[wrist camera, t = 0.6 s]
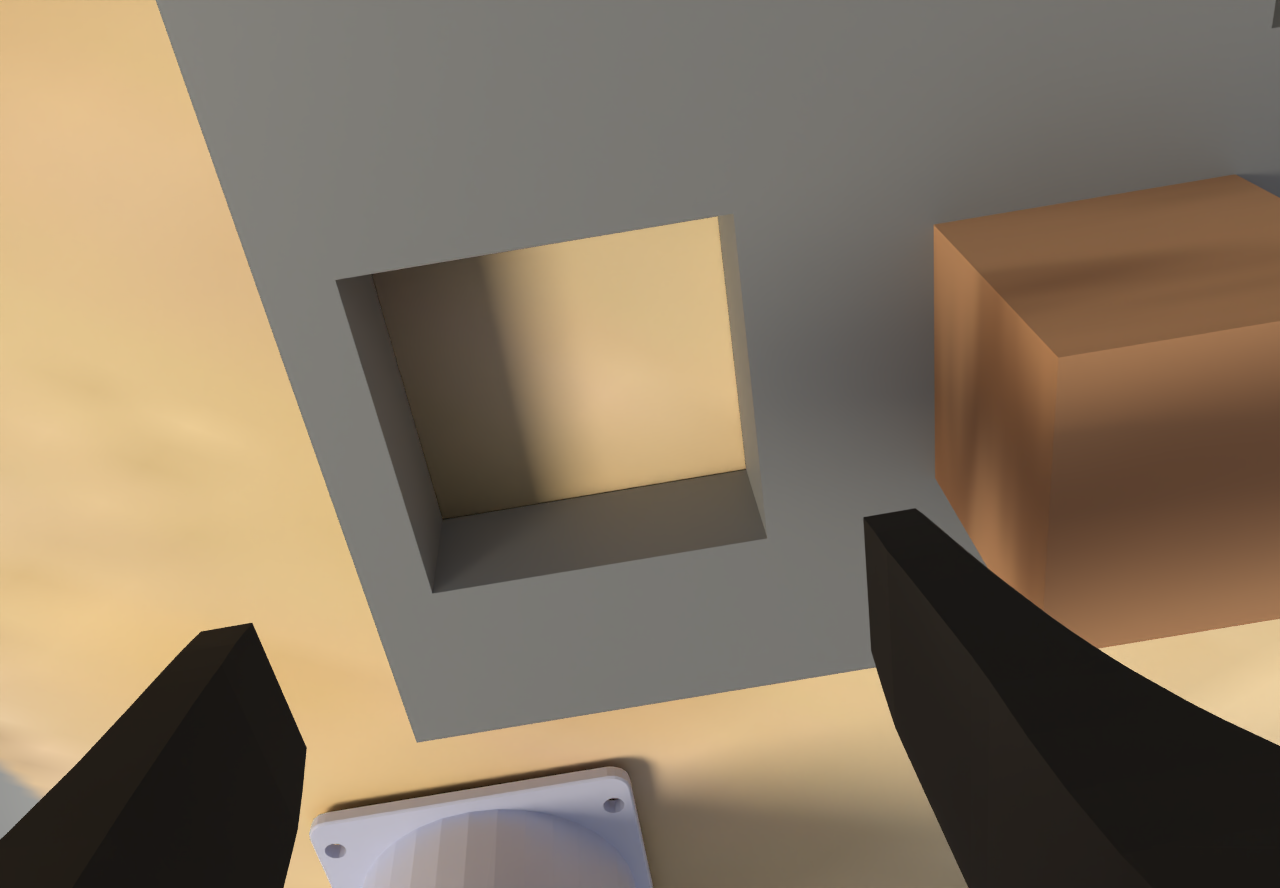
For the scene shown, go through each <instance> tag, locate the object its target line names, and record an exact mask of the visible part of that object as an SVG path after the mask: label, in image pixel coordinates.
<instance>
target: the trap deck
mask: <svg viewBox="0 0 1280 888" xmlns="http://www.w3.org/2000/svg"><path fill="white" fill-rule="evenodd" d="M156 2H157V5H158V8H159V11H160V14H161V16H162V19H163V22H164V25H165V28H166V31H167V33H168V36H169V39H170V42H171V45H172V48H173V50H174V53H175V56H176V59H177V62H178V65H179V68H180V70H181V73H182V76H183V79H184V82H185V85H186V87H187V90H188V93H189V96H190V99H191V102H192V105H193V107H194V110H195V113H196V116H197V119H198V122H199V124H200V127H201V130H202V133H203V136H204V139H205V141H206V144H207V147H208V150H209V153H210V156H211V159H212V161H213V164H214V167H215V170H216V173H217V176H218V178H219V181H220V184H221V187H222V190H223V193H224V195H225V198H226V201H227V204H228V207H229V210H230V213H231V215H232V218H233V221H234V224H235V227H236V230H237V232H238V235H239V238H240V241H241V244H242V247H243V250H244V252H245V255H246V258H247V261H248V264H249V267H250V269H251V272H252V275H253V278H254V281H255V284H256V286H257V289H258V292H259V295H260V298H261V301H262V304H263V306H264V309H265V312H266V315H267V318H268V321H269V323H270V326H271V329H272V332H273V335H274V338H275V341H276V343H277V346H278V349H279V352H280V355H281V358H282V360H283V363H284V366H285V369H286V372H287V375H288V377H289V380H290V383H291V386H292V389H293V392H294V395H295V397H296V400H297V403H298V406H299V409H300V412H301V414H302V417H303V420H304V423H305V426H306V429H307V432H308V434H309V437H310V440H311V443H312V446H313V449H314V451H315V454H316V457H317V460H318V463H319V466H320V468H321V471H322V474H323V477H324V480H325V483H326V486H327V488H328V491H329V494H330V497H331V500H332V503H333V505H334V508H335V511H336V514H337V517H338V520H339V522H340V525H341V528H342V531H343V534H344V537H345V540H346V542H347V545H348V548H349V551H350V554H351V557H352V559H353V562H354V565H355V568H356V571H357V574H358V577H359V579H360V582H361V585H362V588H363V591H364V594H365V596H366V599H367V602H368V605H369V608H370V611H371V613H372V616H373V619H374V622H375V625H376V628H377V631H378V633H379V636H380V639H381V642H382V645H383V648H384V650H385V653H386V656H387V659H388V662H389V665H390V668H391V670H392V673H393V676H394V679H395V682H396V685H397V687H398V690H399V693H400V696H401V699H402V702H403V704H404V707H405V710H406V713H407V716H408V719H409V722H410V724H411V727H412V730H413V733H414V736H415V739H416V741H417V742H423V741H429V740H435V739H442V738H448V737H454V736H460V735H466V734H472V733H478V732H484V731H490V730H496V729H502V728H509V727H515V726H521V725H527V724H533V723H539V722H545V721H551V720H557V719H563V718H570V717H576V716H582V715H588V714H594V713H600V712H606V711H612V710H618V709H624V708H630V707H637V706H643V705H649V704H655V703H661V702H667V701H673V700H679V699H685V698H691V697H698V696H704V695H710V694H716V693H722V692H728V691H734V690H740V689H746V688H752V687H758V686H765V685H771V684H777V683H783V682H789V681H795V680H801V679H807V678H813V677H819V676H826V675H832V674H838V673H844V672H850V671H856V670H862V669H868V668H874V667H876V665H875V662H874V659H873V656H872V652H871V641H870V624H869V607H868V590H867V573H866V556H865V540H864V523H863V517H867V516H873V515H879V514H885V513H890V512H896V511H902V510H908V509H913V508H916V509H917V510H918V511H920V512H921V513H923V514H924V515H925V516H926V517H928V518H929V519H930V520H931V521H932V522H933V523H935V524H936V525H937V526H938V527H939V528H941V529H942V530H943V531H944V532H945V533H946V534H948V535H949V536H950V537H951V538H952V539H953V540H955V541H956V542H957V543H958V544H959V545H961V546H962V547H963V548H964V549H965V550H966V551H968V552H969V553H970V554H971V555H973V556H974V557H975V558H976V559H977V560H979V561H980V562H981V563H982V564H983V565H985V566H986V564H985V562H984V561H983V559H982V557H981V556H980V554H979V552H978V550H977V549H976V547H975V545H974V544H973V542H972V540H971V539H970V537H969V535H968V533H967V532H966V530H965V528H964V527H963V525H962V523H961V521H960V520H959V518H958V516H957V515H956V513H955V511H954V509H953V508H952V506H951V504H950V503H949V501H948V499H947V498H946V496H945V494H944V492H943V491H942V489H941V487H940V486H939V484H938V482H937V480H936V479H935V375H934V224H940V223H946V222H952V221H958V220H964V219H970V218H976V217H982V216H988V215H994V214H1000V213H1006V212H1012V211H1018V210H1024V209H1030V208H1036V207H1042V206H1048V205H1054V204H1060V203H1066V202H1072V201H1078V200H1084V199H1090V198H1096V197H1102V196H1108V195H1114V194H1120V193H1126V192H1132V191H1138V190H1144V189H1150V188H1156V187H1162V186H1168V185H1174V184H1180V183H1186V182H1192V181H1198V180H1204V179H1210V178H1216V177H1222V176H1228V175H1234V174H1236V175H1238V176H1240V177H1241V178H1243V179H1245V180H1247V181H1249V182H1251V183H1253V184H1255V185H1257V186H1258V187H1260V188H1262V189H1264V190H1266V191H1268V192H1270V193H1272V194H1273V195H1275V196H1277V197H1279V198H1280V0H156ZM716 216H718V223H719V232H720V241H721V250H722V259H723V268H724V277H725V286H726V294H727V303H728V312H729V321H730V330H731V339H732V348H733V357H734V366H735V375H736V384H737V392H738V401H739V410H740V419H741V428H742V437H743V446H744V455H745V464H746V470H742V471H736V472H729V473H723V474H717V475H711V476H705V477H699V478H693V479H687V480H681V481H675V482H669V483H663V484H657V485H651V486H645V487H639V488H633V489H627V490H621V491H615V492H609V493H602V494H596V495H590V496H584V497H578V498H572V499H566V500H560V501H554V502H548V503H542V504H536V505H530V506H524V507H518V508H512V509H506V510H500V511H494V512H488V513H482V514H476V515H469V516H463V517H457V518H451V519H445V520H443V519H442V516H441V512H440V509H439V506H438V502H437V499H436V495H435V492H434V488H433V485H432V482H431V478H430V475H429V471H428V468H427V464H426V461H425V458H424V454H423V451H422V447H421V444H420V440H419V437H418V434H417V430H416V427H415V423H414V420H413V416H412V413H411V409H410V406H409V403H408V399H407V396H406V392H405V389H404V385H403V382H402V379H401V375H400V372H399V368H398V365H397V361H396V358H395V355H394V351H393V348H392V344H391V341H390V337H389V334H388V331H387V327H386V324H385V320H384V317H383V313H382V310H381V307H380V303H379V300H378V296H377V293H376V289H375V286H374V282H373V279H372V276H371V274H374V273H380V272H386V271H392V270H398V269H404V268H410V267H416V266H422V265H428V264H434V263H440V262H446V261H452V260H458V259H464V258H470V257H476V256H482V255H488V254H494V253H500V252H506V251H512V250H518V249H524V248H530V247H536V246H542V245H548V244H554V243H560V242H566V241H572V240H578V239H584V238H590V237H596V236H602V235H608V234H614V233H620V232H626V231H632V230H638V229H644V228H650V227H656V226H662V225H668V224H674V223H680V222H686V221H692V220H698V219H704V218H710V217H716ZM986 567H987V566H986Z"/></svg>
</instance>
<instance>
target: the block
mask: <svg viewBox="0 0 1280 888" xmlns="http://www.w3.org/2000/svg"><path fill="white" fill-rule="evenodd" d="M934 375H935V479H936V480H937V482H938V484H939V486H940V487H941V489H942V491H943V492H944V494H945V496H946V498H947V499H948V501H949V503H950V504H951V506H952V508H953V509H954V511H955V513H956V515H957V516H958V518H959V520H960V521H961V523H962V525H963V527H964V528H965V530H966V532H967V533H968V535H969V537H970V539H971V540H972V542H973V544H974V545H975V547H976V549H977V550H978V552H979V554H980V556H981V557H982V559H983V561H984V562H985V564H986V566H987V568H988V569H990V570H991V571H992V572H993V573H995V574H996V575H997V576H998V577H1000V578H1001V579H1002V580H1003V581H1005V582H1006V583H1007V584H1008V585H1010V586H1011V587H1012V588H1014V589H1015V590H1016V591H1018V592H1019V593H1020V594H1022V595H1023V596H1024V597H1026V598H1027V599H1028V600H1030V601H1031V602H1032V603H1034V604H1035V605H1036V606H1038V607H1039V608H1040V609H1042V610H1043V611H1044V612H1046V613H1047V614H1048V615H1050V616H1051V617H1052V618H1054V619H1055V620H1057V621H1058V622H1059V623H1061V624H1062V625H1064V626H1065V627H1066V628H1068V629H1069V630H1071V631H1072V632H1074V633H1075V634H1077V635H1078V636H1080V637H1081V638H1083V639H1084V640H1086V641H1087V642H1089V643H1090V644H1092V645H1093V646H1095V647H1096V648H1103V647H1109V646H1116V645H1122V644H1128V643H1134V642H1140V641H1146V640H1152V639H1158V638H1164V637H1170V636H1177V635H1183V634H1189V633H1195V632H1201V631H1207V630H1213V629H1219V628H1225V627H1231V626H1238V625H1244V624H1250V623H1256V622H1262V621H1268V620H1274V619H1280V198H1279V197H1277V196H1275V195H1273V194H1272V193H1270V192H1268V191H1266V190H1264V189H1262V188H1260V187H1258V186H1257V185H1255V184H1253V183H1251V182H1249V181H1247V180H1245V179H1243V178H1241V177H1240V176H1238V175H1236V174H1234V175H1228V176H1222V177H1216V178H1210V179H1204V180H1198V181H1192V182H1186V183H1180V184H1174V185H1168V186H1162V187H1156V188H1150V189H1144V190H1138V191H1132V192H1126V193H1120V194H1114V195H1108V196H1102V197H1096V198H1090V199H1084V200H1078V201H1072V202H1066V203H1060V204H1054V205H1048V206H1042V207H1036V208H1030V209H1024V210H1018V211H1012V212H1006V213H1000V214H994V215H988V216H982V217H976V218H970V219H964V220H958V221H952V222H946V223H940V224H934Z"/></svg>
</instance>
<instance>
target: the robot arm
mask: <svg viewBox="0 0 1280 888" xmlns="http://www.w3.org/2000/svg"><path fill="white" fill-rule="evenodd" d="M863 523H864V540H865V556H866V573H867V590H868V607H869V624H870V641H871V652H872V656H873V659H874V662H875V665H876V668H877V672H878V675H879V678H880V681H881V685H882V688H883V691H884V694H885V697H886V700H887V704H888V707H889V710H890V713H891V716H892V719H893V722H894V725H895V728H896V730H897V732H898V734H899V737H900V739H901V741H902V743H903V746H904V748H905V750H906V752H907V754H908V757H909V759H910V761H911V763H912V766H913V768H914V770H915V772H916V774H917V777H918V779H919V781H920V783H921V785H922V788H923V790H924V792H925V794H926V796H927V798H928V801H929V803H930V805H931V807H932V809H933V811H934V814H935V816H936V818H937V820H938V822H939V824H940V827H941V829H942V831H943V833H944V835H945V837H946V840H947V842H948V844H949V846H950V848H951V851H952V853H953V855H954V857H955V859H956V861H957V864H958V866H959V868H960V870H961V872H962V874H963V877H964V879H965V881H966V883H967V885H968V887H969V888H1280V746H1279V745H1277V744H1274V743H1272V742H1270V741H1268V740H1266V739H1264V738H1262V737H1259V736H1257V735H1255V734H1253V733H1251V732H1249V731H1247V730H1245V729H1242V728H1240V727H1238V726H1236V725H1234V724H1232V723H1230V722H1227V721H1225V720H1223V719H1221V718H1219V717H1217V716H1215V715H1213V714H1211V713H1209V712H1207V711H1205V710H1204V709H1202V708H1200V707H1198V706H1196V705H1194V704H1192V703H1190V702H1188V701H1186V700H1184V699H1183V698H1181V697H1179V696H1177V695H1175V694H1174V693H1172V692H1170V691H1168V690H1167V689H1165V688H1163V687H1161V686H1159V685H1158V684H1156V683H1154V682H1152V681H1150V680H1149V679H1147V678H1145V677H1143V676H1142V675H1140V674H1138V673H1136V672H1134V671H1133V670H1131V669H1129V668H1128V667H1126V666H1125V665H1123V664H1121V663H1120V662H1118V661H1116V660H1115V659H1113V658H1111V657H1110V656H1108V655H1107V654H1105V653H1104V652H1102V651H1101V650H1099V649H1098V648H1096V647H1095V646H1093V645H1092V644H1090V643H1089V642H1087V641H1086V640H1084V639H1083V638H1081V637H1080V636H1078V635H1077V634H1075V633H1074V632H1072V631H1071V630H1069V629H1068V628H1066V627H1065V626H1064V625H1062V624H1061V623H1059V622H1058V621H1057V620H1055V619H1054V618H1052V617H1051V616H1050V615H1048V614H1047V613H1046V612H1044V611H1043V610H1042V609H1040V608H1039V607H1038V606H1036V605H1035V604H1034V603H1032V602H1031V601H1030V600H1028V599H1027V598H1026V597H1024V596H1023V595H1022V594H1020V593H1019V592H1018V591H1016V590H1015V589H1014V588H1012V587H1011V586H1010V585H1008V584H1007V583H1006V582H1005V581H1003V580H1002V579H1001V578H1000V577H998V576H997V575H996V574H995V573H993V572H992V571H991V570H990V569H988V568H987V567H986V566H985V565H983V564H982V563H981V562H980V561H979V560H977V559H976V558H975V557H974V556H973V555H971V554H970V553H969V552H968V551H966V550H965V549H964V548H963V547H962V546H961V545H959V544H958V543H957V542H956V541H955V540H953V539H952V538H951V537H950V536H949V535H948V534H946V533H945V532H944V531H943V530H942V529H941V528H939V527H938V526H937V525H936V524H935V523H933V522H932V521H931V520H930V519H929V518H928V517H926V516H925V515H924V514H923V513H921V512H920V511H918V510H917V509H916V508H913V509H908V510H902V511H896V512H890V513H885V514H879V515H873V516H867V517H863ZM306 749H307V748H306V745H305V743H304V741H303V739H302V736H301V734H300V732H299V729H298V727H297V725H296V722H295V720H294V718H293V716H292V713H291V711H290V709H289V706H288V704H287V702H286V699H285V697H284V695H283V693H282V690H281V688H280V686H279V683H278V681H277V679H276V676H275V674H274V672H273V670H272V667H271V665H270V663H269V660H268V658H267V656H266V653H265V651H264V649H263V647H262V644H261V642H260V640H259V637H258V635H257V633H256V630H255V628H254V626H253V624H252V623H248V624H242V625H237V626H231V627H225V628H219V629H214V630H208V631H202V632H200V633H199V634H198V635H197V636H196V637H195V638H194V639H193V640H192V641H191V642H190V643H189V644H188V645H187V646H186V647H185V648H184V649H183V650H182V651H181V652H180V653H179V654H178V655H177V656H176V657H175V658H174V660H173V661H172V662H171V663H170V664H169V665H168V666H167V667H166V668H165V669H164V670H163V671H162V672H161V674H160V675H159V676H158V677H157V678H156V679H155V680H154V681H153V682H152V683H151V684H150V686H149V687H148V688H147V689H146V690H145V691H144V692H143V693H142V694H141V695H140V696H139V698H138V699H137V700H136V701H135V702H134V703H133V704H132V705H131V706H130V707H129V709H128V710H127V711H126V712H125V713H124V714H123V715H122V716H121V717H120V718H119V719H118V720H117V721H116V722H115V724H114V725H113V726H112V727H111V728H110V729H109V730H108V731H107V732H106V733H105V734H104V735H103V736H102V737H101V739H100V740H99V741H98V742H97V743H96V744H95V745H94V746H93V747H92V748H91V749H90V750H89V751H88V753H87V754H86V755H85V756H84V757H83V758H82V759H81V760H80V761H79V762H78V763H77V764H76V765H75V766H74V767H73V768H72V769H71V770H70V771H69V772H68V773H67V774H66V775H65V776H64V777H63V778H62V779H61V780H60V781H59V782H58V783H57V784H56V785H55V786H54V787H53V788H52V789H51V790H50V791H49V792H48V793H47V794H46V795H45V796H44V797H43V798H42V799H41V800H40V801H39V802H38V803H37V804H36V805H35V806H34V807H33V808H32V809H31V810H30V811H29V812H28V813H27V814H26V815H25V816H24V817H23V818H22V819H21V820H20V821H19V822H18V823H17V824H16V825H15V826H14V827H13V828H12V829H11V830H10V831H9V832H8V833H7V834H6V835H5V836H4V837H3V838H1V839H0V888H283V887H284V883H285V879H286V875H287V871H288V867H289V863H290V859H291V855H292V851H293V847H294V842H295V838H296V834H297V830H298V822H299V815H300V807H301V799H302V791H303V780H304V770H305V759H306ZM611 798H618V799H617V800H608V799H611ZM309 835H310V840H311V842H312V845H313V847H314V849H315V851H316V854H317V856H318V858H319V860H320V862H321V865H322V867H323V869H324V871H325V873H326V876H327V878H328V880H329V882H330V885H331V887H332V888H653V883H652V879H651V874H650V869H649V865H648V860H647V855H646V851H645V846H644V841H643V837H642V832H641V827H640V823H639V818H638V813H637V809H636V804H635V800H634V795H633V790H632V786H631V781H630V777H629V775H628V773H627V772H626V771H624V770H623V769H622V768H618V767H614V766H611V767H601V768H595V769H589V770H583V771H577V772H571V773H565V774H559V775H553V776H546V777H540V778H534V779H528V780H522V781H516V782H510V783H504V784H498V785H491V786H485V787H479V788H473V789H467V790H461V791H455V792H449V793H443V794H437V795H430V796H424V797H418V798H412V799H406V800H400V801H394V802H388V803H382V804H375V805H369V806H363V807H357V808H351V809H345V810H339V811H333V812H327V813H324V814H320V815H318V816H317V817H316V818H314V820H313V822H312V824H311V828H310V833H309ZM335 844H340V845H335Z"/></svg>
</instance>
